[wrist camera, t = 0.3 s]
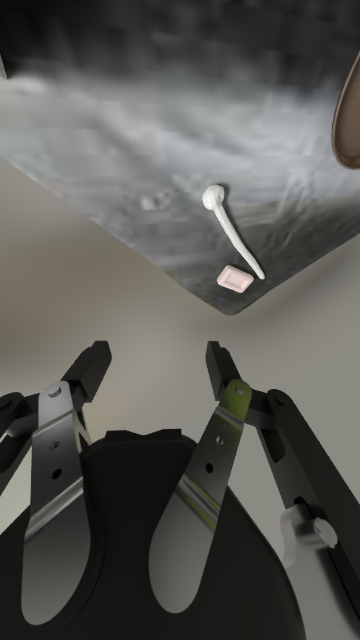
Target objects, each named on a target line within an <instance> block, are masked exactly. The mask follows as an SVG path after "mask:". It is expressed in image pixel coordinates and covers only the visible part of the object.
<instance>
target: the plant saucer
mask: <svg viewBox="0 0 360 640" xmlns="http://www.w3.org/2000/svg"><path fill="white" fill-rule="evenodd" d="M332 148H333V152H334V155H335V157H336V159H337V161H338V162H339V164H340V165H342V166H343V167H345V168H347V169H352V170H359V169H360V50H359V52H358V54H357V56H356V58H355V60H354V62H353V64H352V66H351V68H350V70H349V73H348V75H347V77H346V80H345V82H344V85H343V87H342V90H341V93H340V96H339V99H338V102H337V106H336V109H335V113H334V118H333V124H332Z"/></svg>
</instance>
